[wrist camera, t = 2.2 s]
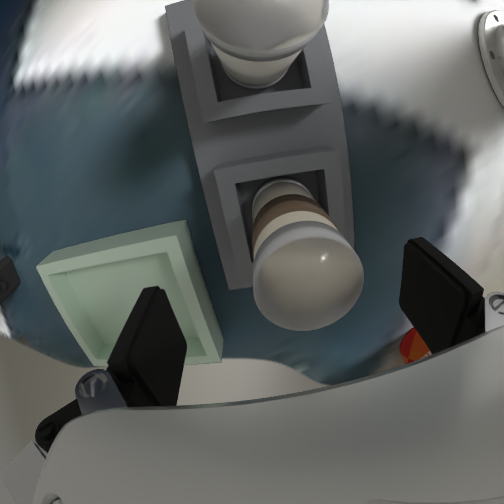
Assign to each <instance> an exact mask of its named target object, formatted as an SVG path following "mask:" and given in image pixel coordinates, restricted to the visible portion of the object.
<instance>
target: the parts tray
mask: <svg viewBox="0 0 504 504" xmlns="http://www.w3.org/2000/svg"><path fill="white" fill-rule="evenodd" d="M36 268H37V270H38V272H39V274H40V276H41V278H42V281H43V283H44V285H45V287H46V289H47V290H48V292H49V294H50V296H51V298H52V300H53V302H54V304H55V305H56V307H57V309H58V311H59V313H60V314H61V316H62V318H63V319H64V321H65V323H66V324H67V326H68V328H69V329H70V331H71V333H72V334H73V336H74V337H75V339H76V340H77V342H78V344H79V345H80V347H81V348H82V350H83V351H84V353H85V354H86V355H87V357H88V358H89V360H90V361H91V363H92V364H93V365H94V366H108V364H107V361H108V359H109V357H110V354H111V352H112V350H113V348H114V346H115V344H116V342H117V339H118V337H119V335H120V333H121V331H122V329H123V327H124V325H125V323H126V321H127V319H128V317H129V315H130V313H131V311H132V309H133V307H134V305H135V303H136V301H137V299H138V297H139V295H140V294H141V292H142V290H143V288H147V287H153V286H159V287H160V289H164V290H165V292H166V294H167V297H168V299H169V302H170V304H171V307H172V309H173V312H174V314H175V316H176V319H177V321H178V323H179V326H180V328H181V330H182V333H183V335H184V337H185V339H186V342H187V352H186V357H185V362H184V365H196V364H209V363H220V362H221V361H222V351H223V341H224V338H223V335H222V333H221V330H220V327H219V324H218V321H217V318H216V315H215V312H214V309H213V306H212V303H211V300H210V297H209V294H208V291H207V288H206V284H205V281H204V278H203V275H202V272H201V268H200V265H199V262H198V259H197V255H196V252H195V249H194V245H193V242H192V238H191V235H190V231H189V228H188V224H187V221H186V219H185V220H180V221H175V222H171V223H166V224H161V225H157V226H152V227H148V228H144V229H139V230H135V231H131V232H126V233H122V234H118V235H114V236H110V237H106V238H102V239H98V240H94V241H90V242H86V243H82V244H78V245H74V246H70V247H67V248H63V249H59V250H56V251H53V252H52V253H51V254H49V255H48V256H47V257H46V258H45V259H44V260H43V261H41V262H40V263H39V264H38V265H37V266H36Z"/></svg>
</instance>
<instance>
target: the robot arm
mask: <svg viewBox="0 0 504 504" xmlns="http://www.w3.org/2000/svg"><path fill="white" fill-rule="evenodd" d="M478 37H479V46H480V51H481V56H482V60H483V63H484V66H485V70H486V72H487V75H488V78H489V81H490V83H491V85H492V87H493V89H494V92H495V94H496V95H497V97H498V99H499V101H500V103H501V104H502V106H503V107H504V12H501V11H496V10H494V11H490V12H487V13H485V14H483V16H482V17H481V19H480V23H479V30H478ZM483 291H484V289H483V288H482V287H481V286H480V285H479V284H478V283H477V282H476V281H475V280H474V279H472V278H471V277H470V276H469V275H468V274H467V273H466V272H465V271H463V270H462V269H461V268H460V267H459V266H458V265H456V264H455V263H454V262H453V261H452V260H450V259H449V258H448V257H447V256H446V255H444V254H443V253H442V252H441V251H439V250H438V249H437V248H436V247H434V246H433V245H432V244H431V243H429V242H428V241H427V240H425V239H424V238H423V237H419V238H414V239H409V240H408V242H407V244H405V246H404V258H403V270H402V280H401V289H400V298H399V304H400V307H401V309H402V311H403V312H404V313H405V315H406V316H407V318H408V319H409V320H410V322H411V323H412V325H413V326H414V328H415V329H416V330H417V332H418V333H419V335H420V336H421V338H422V339H423V341H424V342H425V344H426V345H427V347H428V348H429V350H430V351H431V353H432V354H433V355H430V356H427V357H425V358H422V359H419V360H417V361H414V362H411V363H408V364H405V365H402V366H399V367H396V368H393V369H390V370H387V371H383V372H380V373H377V374H373V375H370V376H367V377H363V378H359V379H356V380H352V381H348V382H344V383H340V384H336V385H331V386H327V387H323V388H318V389H313V390H308V391H303V392H298V393H293V394H287V395H281V396H274V397H269V398H261V399H254V400H246V401H237V402H227V403H215V404H201V405H185V406H176V405H177V399H178V394H179V388H180V383H181V378H182V372H183V367H184V362H185V357H186V352H187V342H186V339H185V337H184V335H183V333H182V330H181V328H180V326H179V323H178V321H177V319H176V316H175V314H174V312H173V309H172V307H171V304H170V302H169V299H168V297H167V294H166V292H165V290H164V289H160V287H159V286H153V287H147V288H143V290H142V292H141V294H140V295H139V297H138V299H137V301H136V303H135V305H134V307H133V309H132V311H131V313H130V315H129V317H128V319H127V321H126V323H125V325H124V327H123V329H122V331H121V333H120V335H119V337H118V339H117V342H116V344H115V346H114V348H113V350H112V352H111V354H110V357H109V359H108V361H107V364H108V367H107V370H103V369H96V370H92V371H90V372H88V373H86V374H85V375H84V376H83V377H82V378H81V379H80V380H79V381H78V383H77V385H76V389H75V394H76V398H77V399H75V400H74V401H72V402H71V403H69V404H67V405H66V406H64V407H63V408H61V409H60V410H58V411H57V412H55V413H53V414H52V415H50V416H49V417H47V418H45V419H44V420H43V421H42V422H41V423H40V424H39V425H38V427H37V429H36V433H35V439H36V442H35V443H34V442H33V441H31V442H30V443H29V444H28V445H27V446H26V447H25V448H24V449H23V450H22V451H21V452H20V453H19V454H18V455H17V456H16V458H15V459H14V460H13V461H12V462H11V463H10V464H9V465H8V466H7V468H6V469H5V472H4V482H5V485H6V487H7V489H8V490H9V492H10V494H11V495H12V497H13V499H14V501H15V502H16V504H504V293H502V292H492V293H490V294H488V295H487V296H486V297H485V298H484V297H483V296H482V295H483Z"/></svg>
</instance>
